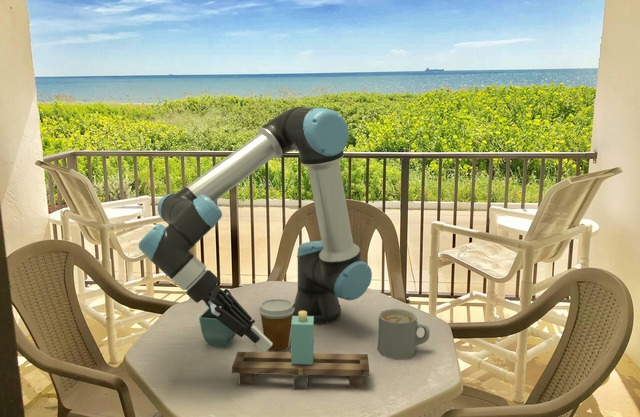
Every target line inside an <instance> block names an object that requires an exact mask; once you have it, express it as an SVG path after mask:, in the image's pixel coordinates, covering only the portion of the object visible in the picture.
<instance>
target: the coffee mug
mask: <svg viewBox="0 0 640 417" xmlns="http://www.w3.org/2000/svg"><path fill="white" fill-rule="evenodd" d="M419 328H422V329H423V331H424V334H423V336H422V337H419V336H418V332H417V331H418V330H419ZM430 332H431V330H430V327H429V325H428V324H427V323H426V322H423V321H419V320H418V317H417V314H415V312H413V311H410V310H407V309H404V308H388V309H384V310H381V311H380V312H379V314H378V332H377V333H378V335H377V351H378V353H379V354H380V355H381V356H383V357H385V358H387V359H392V360H393V359H394V360H404V359H405V360H406V359H409V358H412V357H413V356H414V355H415V354H416V347H418V346H420V345H422V344H424V343H426V342H427V341H428V340H429V338H430Z"/></svg>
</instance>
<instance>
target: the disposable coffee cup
mask: <svg viewBox="0 0 640 417" xmlns="http://www.w3.org/2000/svg"><path fill="white" fill-rule="evenodd" d="M293 304H294V303H292V301H289V300H287V299H283V298H282V299H281V298H273V299H272V298H271V299H268V300H265V301H263V302H261V304H260V306H259V308H258V312H259V315H260V318H261V320H260V321H261V325H262V333H263V334H264V335H265V336H266V337H267V338H268V339H269V340H270V341H271V342H272V343H273V344H272V346H271V347H270V348H269V349H268V350H267V351H269V352H282V351H286V350H287V349H289V346H290V338H291V323H292V318H293V316H292V314H293V312H294V307H293Z"/></svg>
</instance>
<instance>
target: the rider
mask: <svg viewBox="0 0 640 417" xmlns="http://www.w3.org/2000/svg"><path fill="white" fill-rule="evenodd" d="M314 325H315V324H314V316H307V311H299V312H298V316H292V323H291V331H290V338H291V346H290V347H291V349H290V350H291V352H290V353H291V364H308V365H313V356H314V353H315V350H314V349H315V348H314V345H315V344H314V342H315V340H314V338H315V337H314V336H315V334H314V332H315V326H314Z"/></svg>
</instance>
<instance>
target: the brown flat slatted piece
mask: <svg viewBox="0 0 640 417" xmlns="http://www.w3.org/2000/svg"><path fill="white" fill-rule="evenodd" d="M231 373H232V374H238V377H239V378H238V379H239V381H238V382H239V386H253V382H254V380H255V375H257V374H261V375H268V374H269V375H293V390H307V388H308V381H309V375H310V376H311V375H312V376H347V377H348V378H349V380H348V382H349V383H348V384H349V385H348V386H349V388H363V377H370V364H369V354H367V353H333V352H331V353H326V352H325V353H324V352H322V353H321V352H320V353H319V352H314V356H313V365H308V364H291V352H282V351H266V352H265V353H263V352H262V351H237V352H236V355H235V357H234V361H233V364H232V366H231Z"/></svg>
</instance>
